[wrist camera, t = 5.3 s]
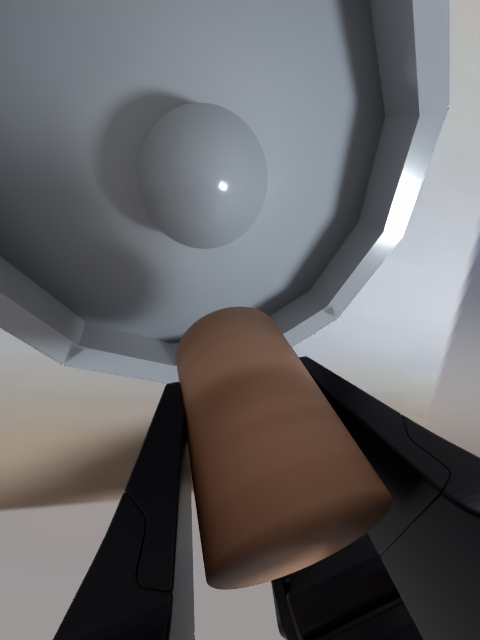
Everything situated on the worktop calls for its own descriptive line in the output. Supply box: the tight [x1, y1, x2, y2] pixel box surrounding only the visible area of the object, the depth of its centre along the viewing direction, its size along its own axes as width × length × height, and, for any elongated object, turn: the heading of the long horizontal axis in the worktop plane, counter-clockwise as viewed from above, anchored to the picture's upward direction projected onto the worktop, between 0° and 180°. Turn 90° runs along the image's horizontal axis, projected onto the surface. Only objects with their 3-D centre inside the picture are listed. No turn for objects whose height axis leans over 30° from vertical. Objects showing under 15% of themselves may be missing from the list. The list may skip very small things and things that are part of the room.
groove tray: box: [0, 0, 449, 384], centre depth 10 cm, size 18×18×2 cm
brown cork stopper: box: [176, 307, 393, 589], centre depth 8 cm, size 4×4×6 cm
